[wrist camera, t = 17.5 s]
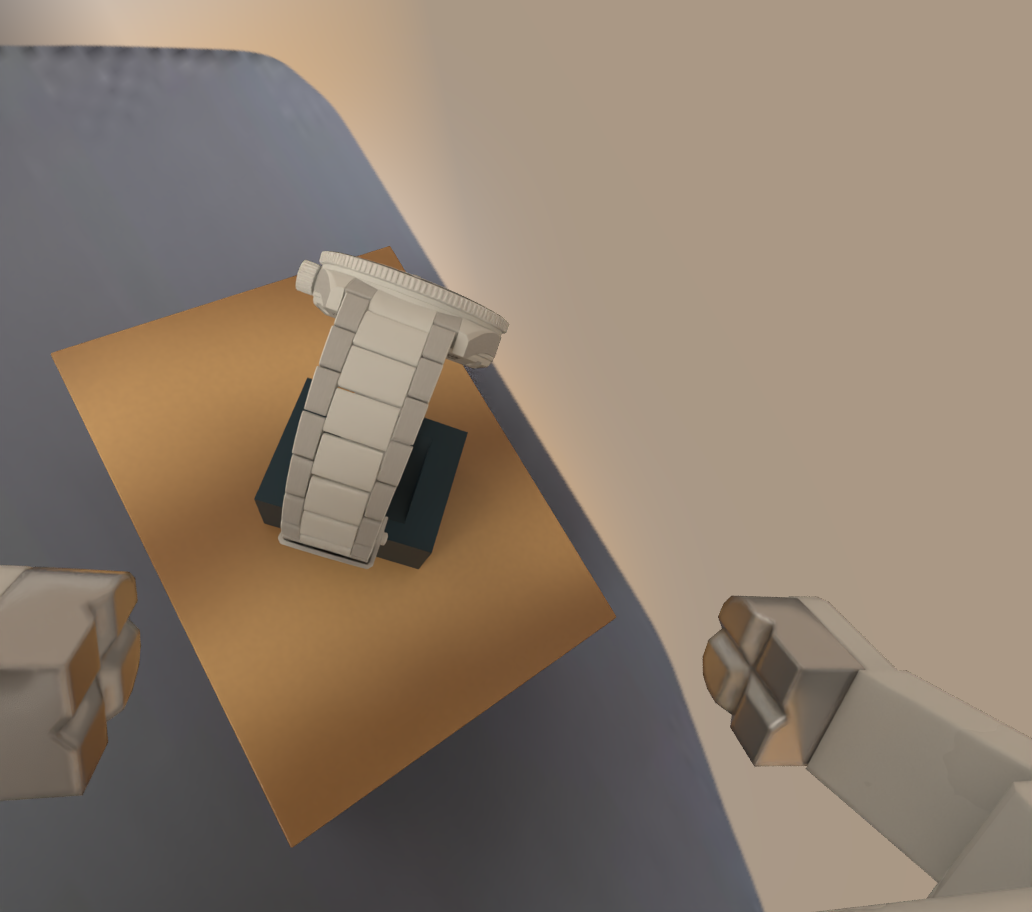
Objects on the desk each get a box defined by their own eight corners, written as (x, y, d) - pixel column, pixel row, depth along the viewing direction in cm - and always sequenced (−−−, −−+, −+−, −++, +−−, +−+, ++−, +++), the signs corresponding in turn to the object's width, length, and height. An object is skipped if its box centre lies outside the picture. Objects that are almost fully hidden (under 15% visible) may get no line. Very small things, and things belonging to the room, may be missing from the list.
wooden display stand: (549, 631, 31) (617, 617, 23) (302, 800, 25) (291, 848, 18) (376, 339, 33) (390, 245, 26) (121, 436, 28) (49, 352, 21)
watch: (464, 418, 24) (558, 237, 14) (403, 618, 21) (469, 564, 11) (326, 369, 23) (324, 141, 13) (239, 572, 20) (154, 468, 10)
